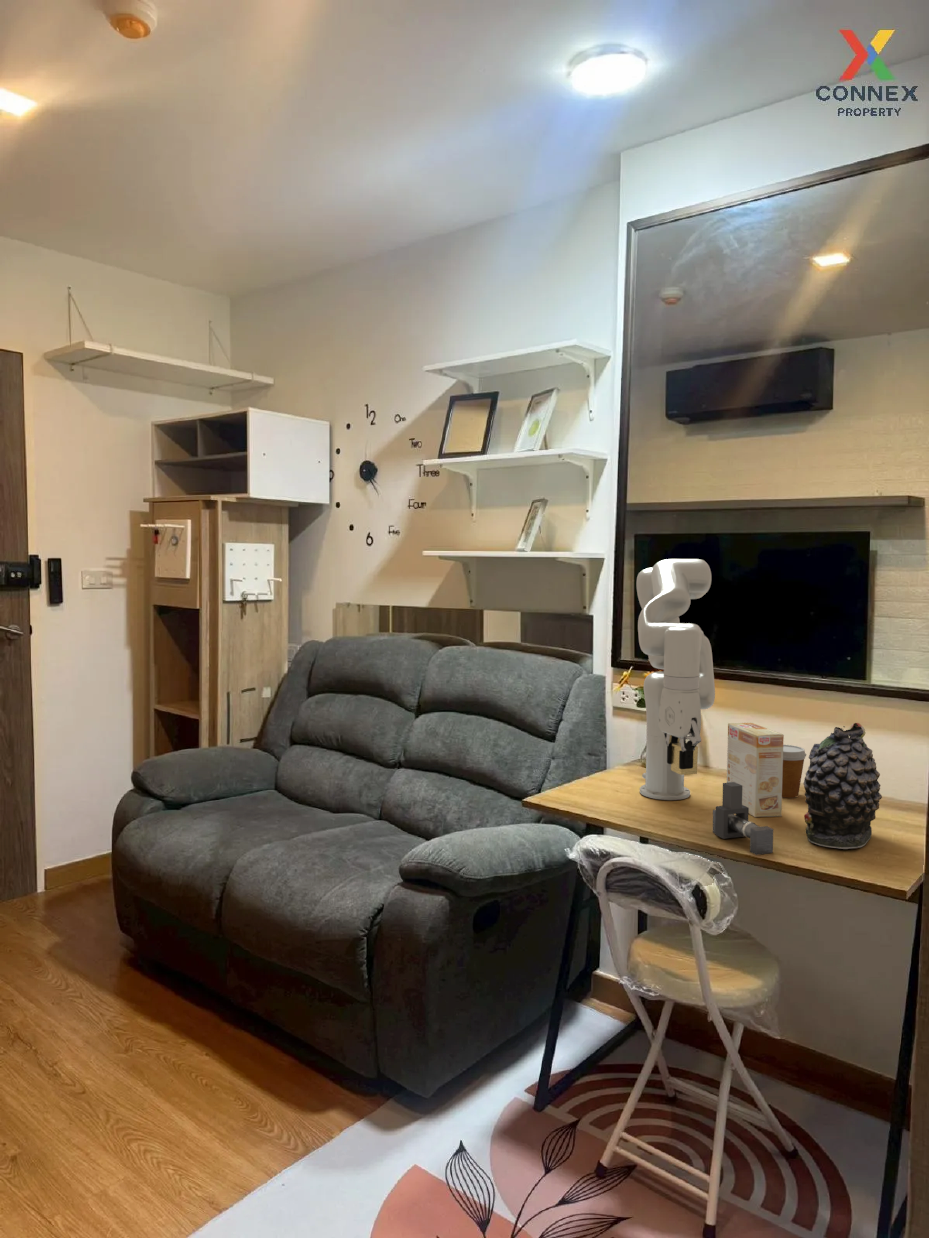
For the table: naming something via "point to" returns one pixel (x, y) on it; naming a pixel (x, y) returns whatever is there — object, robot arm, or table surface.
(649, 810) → the table surface
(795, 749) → the disposable coffee cup
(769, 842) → the grey shaft with blocks
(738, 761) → the coffeecake box
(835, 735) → the pinecone sculpture
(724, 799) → the grey bracket
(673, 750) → the pale yellow rectangular block
